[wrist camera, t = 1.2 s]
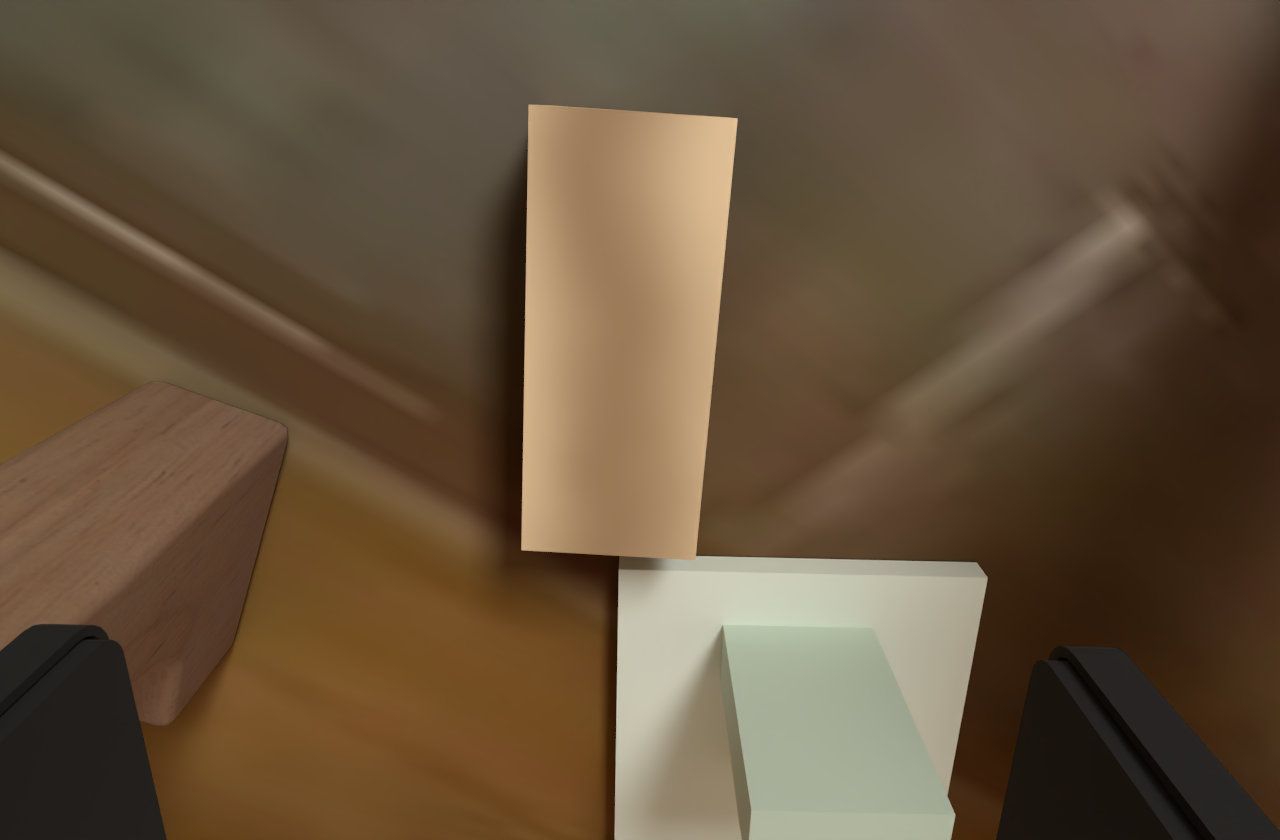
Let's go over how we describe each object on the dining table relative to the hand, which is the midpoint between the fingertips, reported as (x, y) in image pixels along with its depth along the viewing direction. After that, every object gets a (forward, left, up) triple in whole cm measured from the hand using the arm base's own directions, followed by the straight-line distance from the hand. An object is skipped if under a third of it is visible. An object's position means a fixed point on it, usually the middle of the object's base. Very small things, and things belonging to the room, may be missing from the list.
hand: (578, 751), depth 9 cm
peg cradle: (-6, +19, -18) cm, 27 cm away
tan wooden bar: (0, 0, -19) cm, 19 cm away
